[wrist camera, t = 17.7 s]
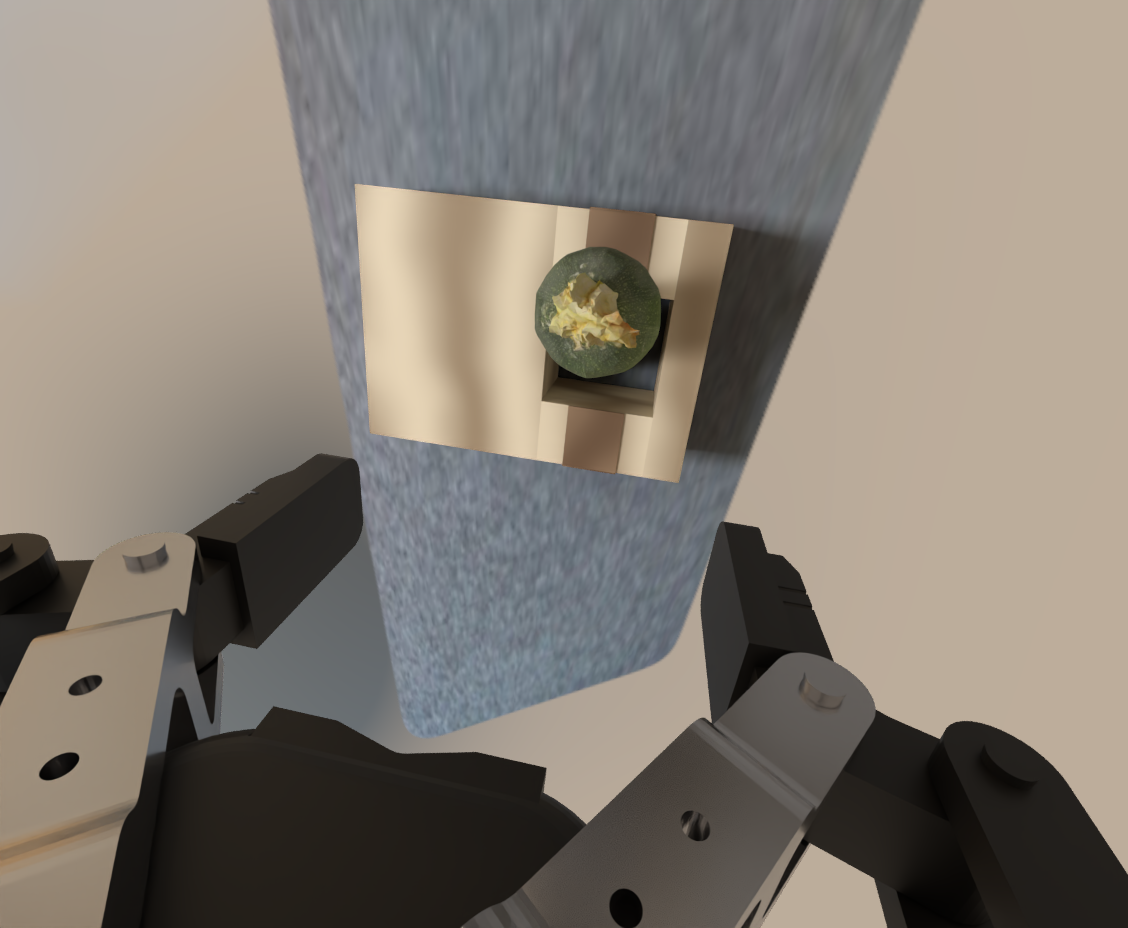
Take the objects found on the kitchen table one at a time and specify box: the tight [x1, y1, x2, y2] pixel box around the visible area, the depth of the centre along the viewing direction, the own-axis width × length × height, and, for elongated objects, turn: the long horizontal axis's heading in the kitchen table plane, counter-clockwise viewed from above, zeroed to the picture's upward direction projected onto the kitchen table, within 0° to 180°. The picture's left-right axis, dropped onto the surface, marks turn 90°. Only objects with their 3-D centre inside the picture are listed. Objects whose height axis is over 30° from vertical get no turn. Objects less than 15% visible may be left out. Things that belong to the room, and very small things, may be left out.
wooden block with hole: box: [355, 184, 734, 483], centre depth 30 cm, size 18×13×5 cm
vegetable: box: [535, 247, 661, 378], centre depth 22 cm, size 4×4×20 cm
